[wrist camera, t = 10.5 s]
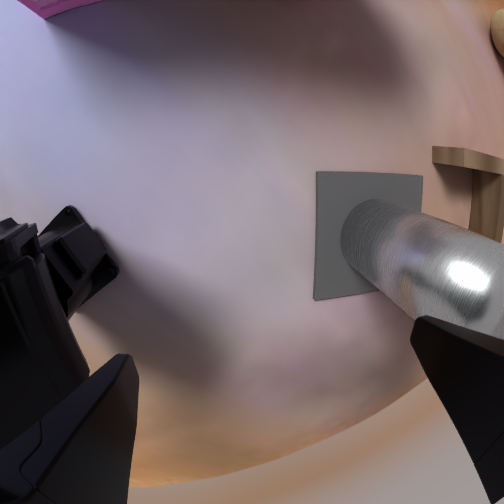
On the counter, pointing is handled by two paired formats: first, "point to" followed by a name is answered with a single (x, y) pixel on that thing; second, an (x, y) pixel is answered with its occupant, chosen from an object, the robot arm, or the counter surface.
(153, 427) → the counter surface
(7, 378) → the robot arm
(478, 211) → the walnut rack
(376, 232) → the steel tin
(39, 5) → the gum box
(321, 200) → the rubber mat
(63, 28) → the counter surface
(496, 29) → the apple
